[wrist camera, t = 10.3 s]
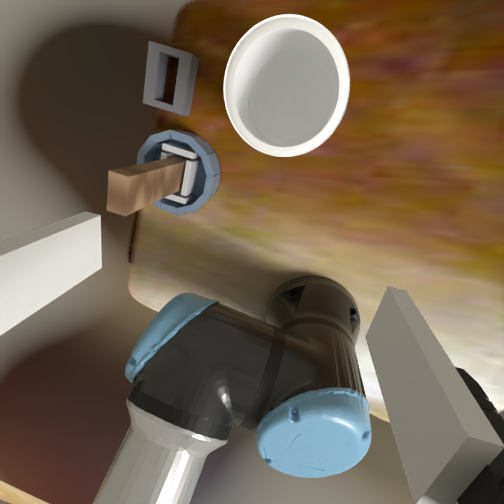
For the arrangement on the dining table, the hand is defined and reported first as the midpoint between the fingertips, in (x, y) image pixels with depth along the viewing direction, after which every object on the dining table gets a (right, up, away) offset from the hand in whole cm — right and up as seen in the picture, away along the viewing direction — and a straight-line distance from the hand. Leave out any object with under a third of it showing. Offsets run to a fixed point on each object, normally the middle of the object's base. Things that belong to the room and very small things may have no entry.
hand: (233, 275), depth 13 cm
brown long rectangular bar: (-9, +13, +29) cm, 33 cm away
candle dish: (-9, +13, +30) cm, 34 cm away
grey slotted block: (-10, +24, +26) cm, 36 cm away
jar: (+6, +20, +24) cm, 32 cm away
